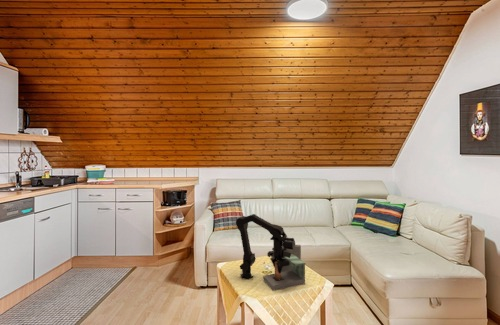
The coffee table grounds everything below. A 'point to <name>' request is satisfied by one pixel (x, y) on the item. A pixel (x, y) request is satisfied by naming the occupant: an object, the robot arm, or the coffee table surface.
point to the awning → (297, 265)
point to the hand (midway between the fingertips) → (278, 271)
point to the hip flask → (295, 252)
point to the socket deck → (283, 280)
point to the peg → (277, 274)
